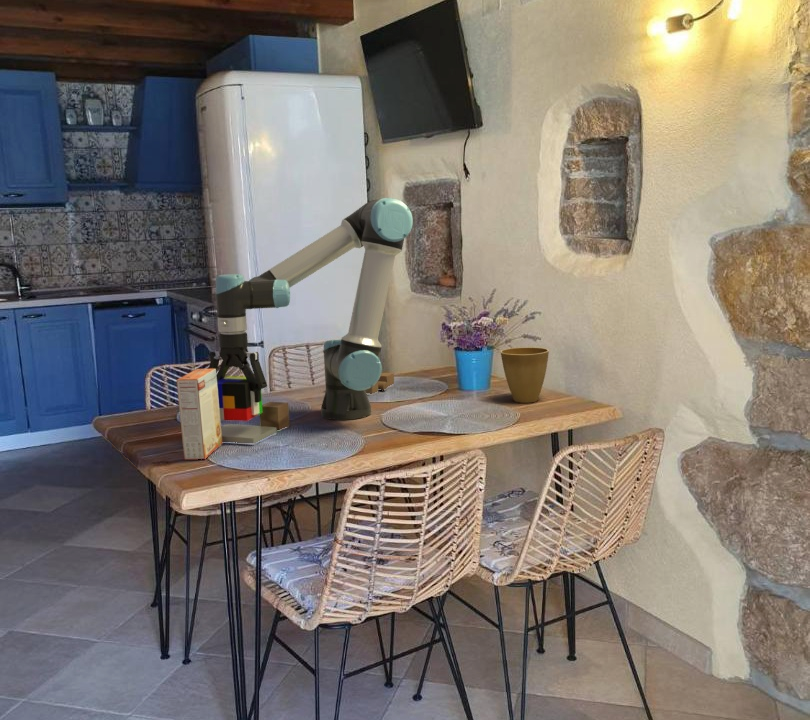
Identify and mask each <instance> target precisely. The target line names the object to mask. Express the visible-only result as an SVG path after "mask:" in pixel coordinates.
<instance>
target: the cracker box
mask: <svg viewBox="0 0 810 720" xmlns="http://www.w3.org/2000/svg"><path fill="white" fill-rule="evenodd" d="M216 375H217V374H216V369H209V368H195V369H194V370H192V371H190V372H188V373H186V374H185V375H183V376H181V377H179V378H177V379H176V388H177V398H178V399H177V400H178V406H179V407H178V409H179V418H180V419H179V420H180V427H181V438H182V447H183V459H184V461H195V460H196V461H197V460H198V459H201V460H202V459H205V460H207V459H208V458H209V457H208V455H210V454H211V453H212V452H213V451H214V450H215V449H216V448H218V447H219V446H220V445H221V444H222V445H223V443H222V432H221V426H222V423H221V422H222V420H220V410H219V398H218V387H217V376H216ZM222 445H221V446H222ZM221 446H220V447H221ZM220 447H219V448H220ZM219 448H218V449H219ZM215 451H216V450H215ZM215 451H214V452H215ZM214 452H213V453H214ZM213 453H212V454H213ZM212 454H211V455H212ZM211 455H210V456H211ZM207 457H208V458H207ZM206 458H207V459H206ZM198 461H199V460H198ZM202 461H203V460H202Z"/></svg>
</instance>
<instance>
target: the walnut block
mask: <svg viewBox="0 0 810 720" xmlns="http://www.w3.org/2000/svg"><path fill="white" fill-rule="evenodd" d="M289 409H290V408H289V402H283V401H282V402H281V401H268V402H265V403H264V404H263V403H262V411H263V413H261V414H259V426H265V427H276V429H277V430H280V429H282V428H285V427H287V428H289V427H290V413H289V412H290V411H289ZM288 426H289V427H288ZM285 429H286V428H285Z"/></svg>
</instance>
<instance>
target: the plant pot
mask: <svg viewBox="0 0 810 720" xmlns="http://www.w3.org/2000/svg"><path fill="white" fill-rule="evenodd" d="M549 352H550V351H549V349H548V348H544V347H533V346H532V347H531V346H530V347H527V346H526V347H525V346H524V347H511V348H505V349H502V350H500V355H501V356H500V357H501V363H502V367H503V371H504V375H505V378H506V383H507V385H508V389H509V392H510V394H511V396H512V399H513V401H514V402H516V403H520V404H521V403H522V404H524V403H525V404H529V403H531V404H532V403H534V402H537V401H538V400H539V397H540V395H541V392H542V389H543V385H544V381H545V377H546V374H547V373H546V372H547V367H548V363H549V362H548V360H549Z"/></svg>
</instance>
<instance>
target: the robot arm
mask: <svg viewBox="0 0 810 720" xmlns="http://www.w3.org/2000/svg"><path fill="white" fill-rule="evenodd" d="M413 221H414V220H413V214H412V212H411V210H410V208H409V206H407V204H406V203H404V202H403V201H402V200H399V199H398V198H397V199H396V198H393V197H392V198H390V197H383V198H381V199H372V200H370V201H368V202H366V203H364V204H363V205H362V206H360V207H359V208H357V209H356V210H355V211H353V213H351V214H349V215H348V216H346V217H344V218H343V219H341V223H340V225H339V226H337V227H336V228H334V229H333V230H330V231H329V232H327V233H325V234H324V235H323V236H321V237H319V238H318V239H316V240H315V241H312V243H309V244H308V245H307V246H306V245H305V247H303V248H302V249H300V250H298V251H297V252H295V253H293V254H292V255H290V256H289V257H287V258H286V259H284V260H282V261H280V262H279V263H277V264H276V265H274V266H273V267H271V268H269V269H268V270H266V271H264V272H263V273H261V274H259V275H258V276H254V277H252V278H250V279H249V280H245V278H244V275H243V274H242V273H241V274H240V273H238V274H237V273H233V274H232V273H230V274H229V273H227V274H219V275H217V276H216V277H215V292H214V293H215V301H216V304H215V305H216V314H217V315H216V316H217V328H218V330H217V331H218V333H219V334H218V346H219V347H220V350H214V351H211V352H210V353H209V354H210V355H209V356H210V362H209V365H208V366H209V367H208V369H216V376H217V380H221V379H224V378H225V377H226V375H227V373H228V371H229V369H230V368H231V367H234V368H238V369H239V370H240V371H242V373H243V375H244V377H246V379H247V380H248V382H250V385H251V387H252V389H253V390H252V391H250V393H251V409H252V415H256V414H258V413H260V412H259V402H260V401H261V394H262V389H265V388H267V387H268V383H267V380H266V378H265V377H266V376H265V375H264V372H263V369H262V366H261V363H260V358H259V357H260V356H259V352H258V351H254V352H249V350H248V344H249V343H248V333H247V332H246V331H247V330H248V327H247V326H248V325H247V312H246V311H247V310H253V309H254V310H256V309H273V308H274V309H279V308H284V307H288V306H289V305H290V303H291V290H290V289H291V288H292V287H293V286H295V285H296V284H298V283H300V282H301V281H303V280H305V279H306V278H308V277H309V276H312V274H314V273H316V272H317V271H319V270H321V269H322V268H324V267H325V266H327V265H329V264H330V263H331V262H333V261H335V260H336V259H338V258H340V257H341V256H344V255H345V254H346V253H348V252H349V251H351V250H353V249H354V248H356V249H362V247H363V248H364V255H363V259H362V263H361V269H360V273H359V279H358V283H357V286H356V288H357V289H356V292H355V298H354V303H353V308H352V312H351V316H350V317H351V318H350V322H349V326H348V327H349V328H348V332H347V333H346V334H345V335H343V336H342V337H341V338H340V339H330V340H325V342H324V343H323V351H322V353H323V364H324V365H323V366H324V380H325V381H324V382H325V391H324V396H323V400H322V404H321V407H320V408H321V409H320V415H321V417H322V418H324V419H327V420H335V421H337V420H338V421H340V420H341V421H343V420H346V421H347V420H356V419H363V418H365V417H368V416H370V415H371V414H372V405H371V403H370V400H369V397H368V395H367V394H366V391H365V390H367V389H369V388H371V387H372V386H374V385H375V384H376V383H377V381H378V380H379V378H380V376H381V372H382V373H383V369H382V368H383V367H382V362H381V359H380V358H381V357H380V356H381V351H382V348H383V347H382V346H383V345H382V344H381V342H380V341H379V336H380V335H379V334H380V330H381V325H382V321H383V317H384V316H383V315H384V311H385V306H386V302H387V297H388V293H389V288H390V284H391V283H390V282H391V278H392V273H393V268H394V263H395V259H396V256H397V255H398V254H400V253H401V252H402V251H403V247H404V242H405V239H406V238H407V237H408V235H409V234H410V233H411V230H412V228H413V223H414V222H413ZM220 358H221V359H222V360H221V363H220ZM219 364H220V365H219ZM250 366H251V367H250ZM218 368H219V369H218Z"/></svg>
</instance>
